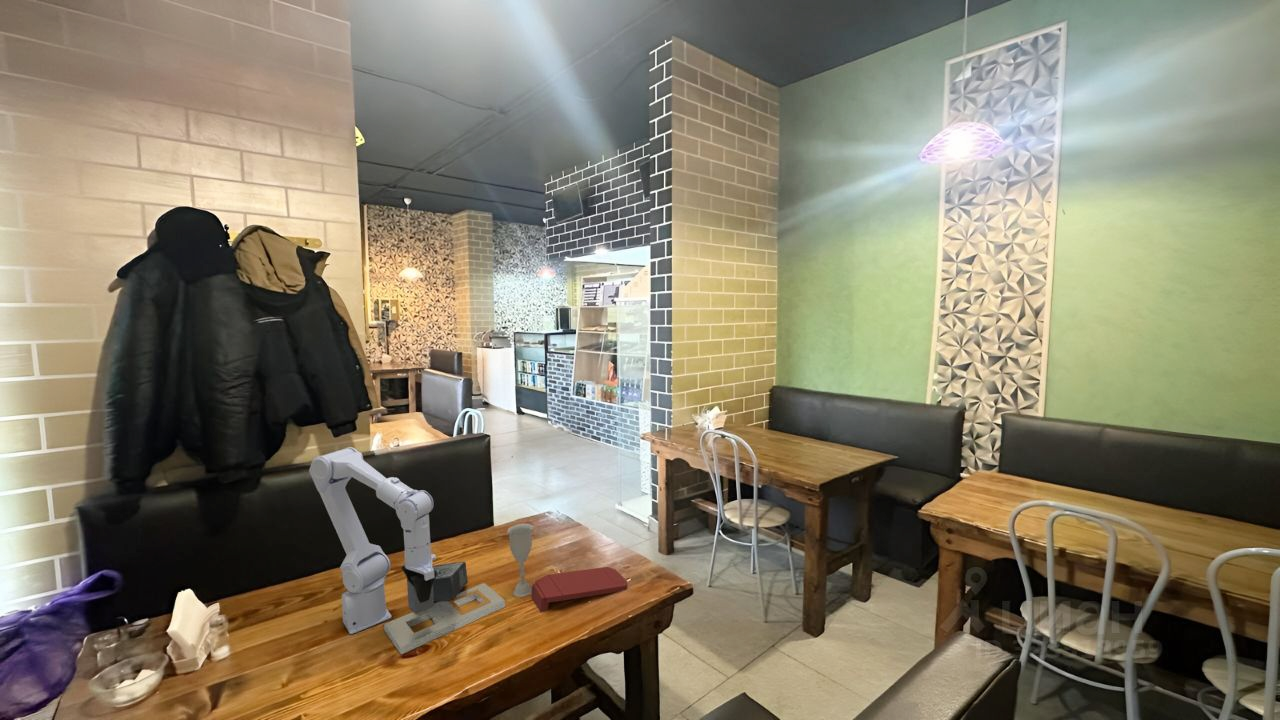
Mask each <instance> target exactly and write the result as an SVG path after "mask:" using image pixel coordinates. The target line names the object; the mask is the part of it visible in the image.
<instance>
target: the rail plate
mask: <svg viewBox="0 0 1280 720" xmlns="http://www.w3.org/2000/svg"><path fill="white" fill-rule="evenodd" d="M475 600H476V601H477V602H478V604H476V605H474V606H471V607H469V608H466V609H465V610H463V608H461V606H463V605H465V604H467V603H471V602H472V601H475ZM504 608H506V599H504V597H501V595H499V594H498V593H497V592H496V591H495V590H493V588H491V587H490V586H488V585H487V584H486V583H484V582H483V583H481V584H478V585H476V586H473V587H471V588H468V589H466V590H463V591H460V592H459V593H458V594H457V596H456V597H455V598H454V599H450V600H442V601H435V602H434V607H432V608H430V609H427V610H425V611H422V612H420V613H417V614H414V612H413V611H412V612H410V613H407V614H405V615H402V616H400V617H398V618H395V619H393V620H391V621H388V622H386V623H384V625H383V629H384V633H385V634H386V635H387V637H388V638H389V640H390V641H391V642H392V645H394V646H395V648H396V650H397V651H398V653H399V654H400V655H403V654H405V653H408V652H410V651H413V650H414V649H417V648H418V647H421V646H423V645H426V644H427V643H429V642H432V641H434V640H436V639H438V638H440V637H442V636H445V635H447V634H449V633H451V632H454V631H456V630H458V629H460V628H462V627H464V626H467V625H469V624H470V623H473V622H475V621H478V620H480V619H481V618H484V617H486V616H488V615H490V614H493V613H495V612H496V611H497V612H498V611H499V610H501V609H504ZM428 620H431V621H432V622H433V623H434V624H432V625H429V626H428V627H425V628H422V629H420V630H417V631H416V632H414V631H413V630H412V627H414V626H416V625H419V624H421V623H423V622H425V621H428Z"/></svg>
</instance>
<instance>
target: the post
mask: <svg viewBox="0 0 1280 720" xmlns="http://www.w3.org/2000/svg"><path fill="white" fill-rule="evenodd" d="M406 583H407V585H406V587H407V588H406V589H407V601H408V604H407V605H408V608H409V609H410V610H411V611H412V612H414V614H417V613H420V612H422V611H425V610H427V609H430V608H432V607H434V603H435V602H434V594H433V585H432V589H431V594H430V598H429V600H428V601H425V602H423V603H420V601H419V599H418V595H417V590H416V587H415V585H414V583H413V581H412V580H411V578H409V579H407V578H406Z"/></svg>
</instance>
